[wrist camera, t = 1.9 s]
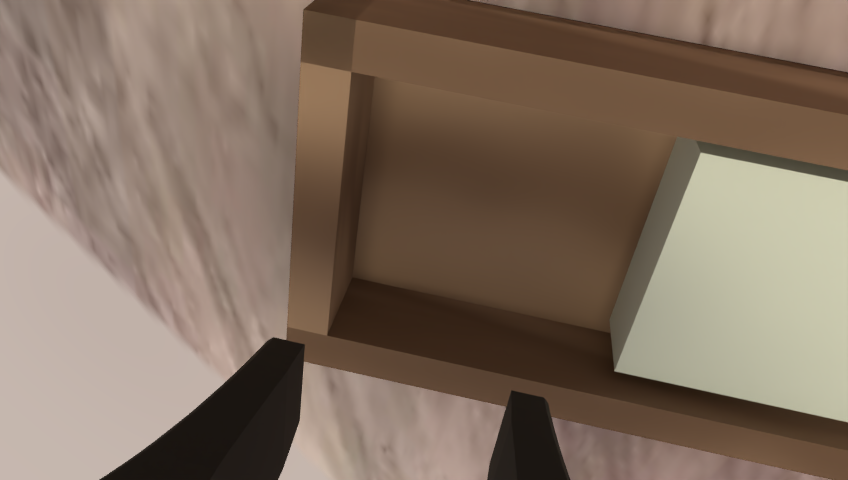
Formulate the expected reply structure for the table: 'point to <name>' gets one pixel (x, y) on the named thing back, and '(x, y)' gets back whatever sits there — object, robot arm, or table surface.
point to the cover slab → (741, 281)
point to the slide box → (524, 205)
